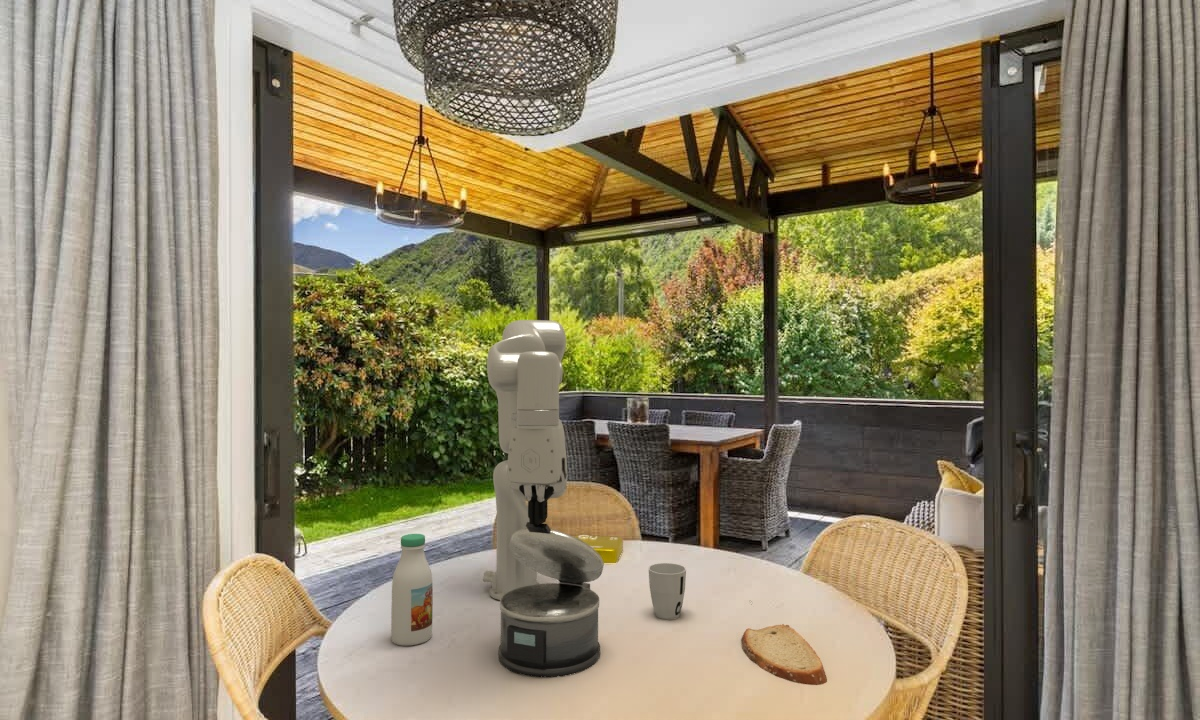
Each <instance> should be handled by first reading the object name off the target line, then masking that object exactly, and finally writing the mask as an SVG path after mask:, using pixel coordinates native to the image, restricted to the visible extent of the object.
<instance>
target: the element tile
mask: <svg viewBox="0 0 1200 720" xmlns="http://www.w3.org/2000/svg"><path fill="white" fill-rule="evenodd" d="M573 537H575V538H577V539H579V540H581V541H583V542H585V543H586V544H588V545H589V546H591V547H592V548H593V549H594V550H595V551H596V552H597V553H598V554H599V555H600V556H601V558H602V560H603V563H616V562H617V561H618V562H619V560H620V558H621V556H622V554H623V552H624V546H623V545H624V540H623V538H622V537H620V536H605V535H603V536H600V535H599V536H598V535H588V534H579V535H578V534H577V535H574V536H573ZM622 551H623V552H622ZM621 553H622V554H621ZM620 555H621V556H620ZM619 557H620V558H619ZM618 559H619V560H618ZM618 562H617V563H618ZM617 563H616V564H617Z"/></svg>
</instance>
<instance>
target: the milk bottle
mask: <svg viewBox="0 0 1200 720" xmlns="http://www.w3.org/2000/svg"><path fill="white" fill-rule="evenodd" d="M425 543H426V536H425V535H424V534H422V533H409V534H404V535H402V536H401V537H400V549H401V555H400V557H399V561H398V563H397V565H396V568H395V570H394V572H393V576H392V583H391V613H390V614H391V616H390V619H391V620H390V627H391V629H390V632H391V633H390V635H391V638H390V639H391V642H392V643H393V644H395V645H398V646H402V647H404V646H408V647H409V646H416V645H417V646H418V645H421V644H423V643H427V641H429V640H430V639H431V638H432V636H433V604H434V603H433V599H434V598H433V594H434V593H433V590H434V589H433V588H434V587H433V574H432V570H431V567H430V565H429V563H428V562H429V561H428V560H427V558H426V553H425V549H424V548H425V546H426V545H425Z"/></svg>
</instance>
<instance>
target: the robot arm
mask: <svg viewBox="0 0 1200 720" xmlns="http://www.w3.org/2000/svg"><path fill="white" fill-rule="evenodd" d="M566 346H567V336H566V331H565V329H564V327H563V326H562V324H561V323H559V322H558V321H556V320H549V319H548V320H546V319H545V320H543V319H542V320H541V319H518V320H514V321H511V322H510V323H508V324H507V325H506V326H505V328H504V329H503V332H502V340H500V341H498V342H497V341H496V343H494V344H493V345H492V346H491V347H490V349H488V350H489V351H488V354H487V359H486V372H487V379H488V383H489V386H490V387H491V388H492V389H493V390H494V391H495V394H496V397H497V402H498V403H497V406H498V407H497V408H498V409H497V410H498V411H497V412H498V413H497V414H498V416H497V417H498V439H499V440H498V442H499V446H500V449H501V451H502V452H504V453H505V454H507V460H503V461H501V462H499V463H497V465H495V467H494V469H493V475H492V478H493V479H492V480H493V488H494V494H495V506H496V507H495V508H496V559H495V561H496V564H495V565H496V567H495V568H496V570H495V571H496V572H495V571H492V570H491V571H490V570H485V571H484V573H483V576H482V582H487V583H491V586H490V588H489V596H490V597H491V598H492V599H494V600H497V601H500V599H501V597H502V596H503V595H504V594H506V593H507V592H509V591H511V590H514V589H517V588H520V587H524V586H528V585H535V584H540V583H539V582H538V581H537V574H538V572H535V571H534V570H532V569H530V568H528V567H526V566H525V565H524V564H522V563H521V562H520V561H518V560H517V559H516V558H515V557H514V555H513V554H512V553H511V551H510V548H509V542H510V540H511V537H512V535H513V534H514V533H515V532H516V531H518V530H520V529H524V528H527V527H526V524H527V522H529V523H530V524H536V525H539V524H545V523H546V522H547V518H548V501H549V500H550V499H558V498H561V497H562V496H564V495H565V493H566V491H567V485H568V481H567V480H568V478H567V477H568V476H567V474H568V462H567V461H568V460H567V450H566V438H565V437H566V436H565V429H564V424H563V423H562V422H563V421H561V419H560V384H561V383H562V382H563V375H564V372H563V371H564V370H563V365H562V360H563V357H564V355H565V351H566V348H567V347H566Z"/></svg>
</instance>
